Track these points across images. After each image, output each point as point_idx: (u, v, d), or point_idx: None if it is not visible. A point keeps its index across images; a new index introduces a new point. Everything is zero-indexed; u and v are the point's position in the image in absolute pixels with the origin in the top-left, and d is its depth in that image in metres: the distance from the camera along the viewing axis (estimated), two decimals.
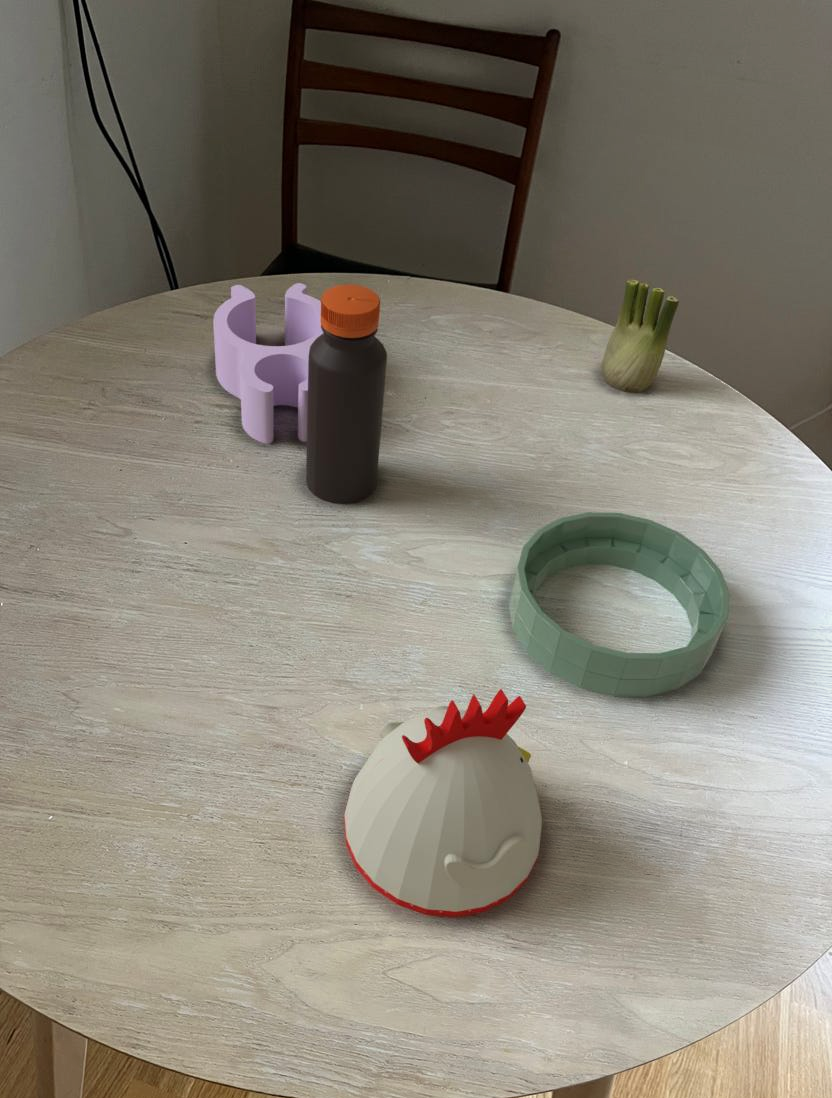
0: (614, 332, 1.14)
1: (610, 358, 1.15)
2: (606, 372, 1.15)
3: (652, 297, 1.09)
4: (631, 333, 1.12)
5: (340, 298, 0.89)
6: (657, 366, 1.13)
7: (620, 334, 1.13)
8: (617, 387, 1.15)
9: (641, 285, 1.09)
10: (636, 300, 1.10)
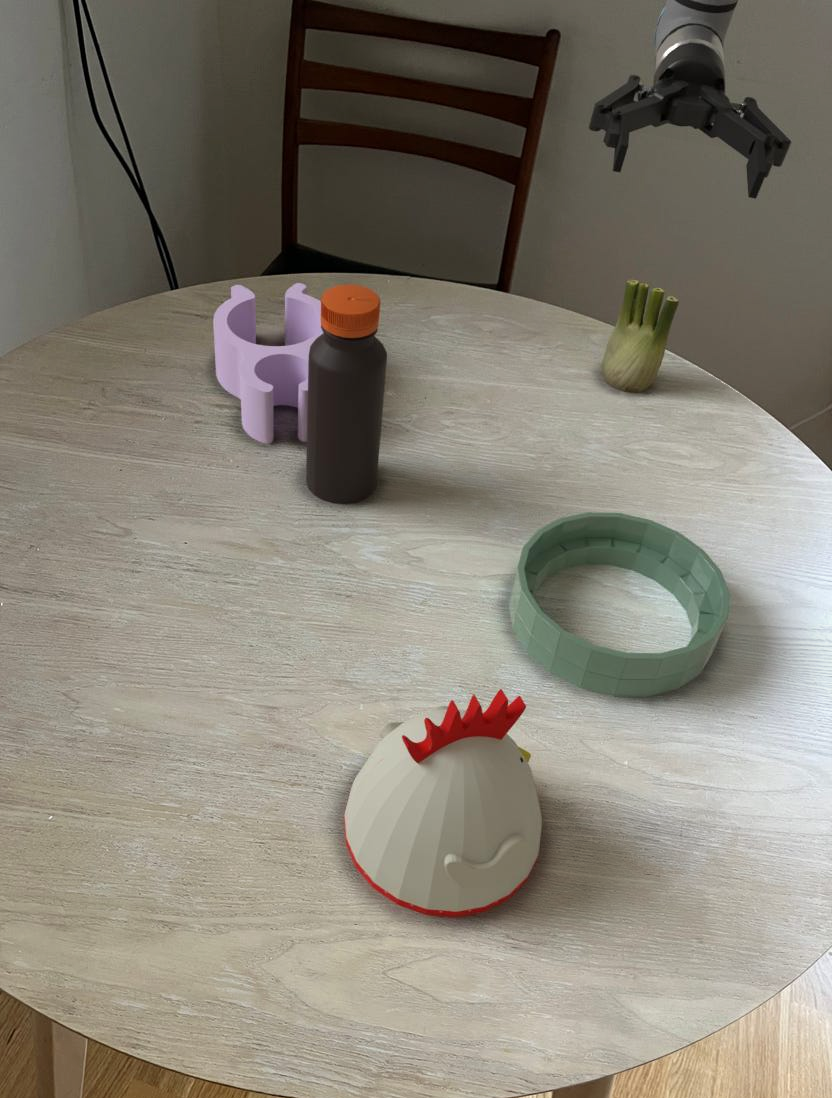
0: (614, 332, 1.14)
1: (610, 358, 1.15)
2: (606, 372, 1.15)
3: (652, 297, 1.09)
4: (630, 333, 1.12)
5: (340, 298, 0.89)
6: (657, 366, 1.13)
7: (620, 334, 1.13)
8: (617, 387, 1.15)
9: (641, 285, 1.09)
10: (636, 300, 1.10)
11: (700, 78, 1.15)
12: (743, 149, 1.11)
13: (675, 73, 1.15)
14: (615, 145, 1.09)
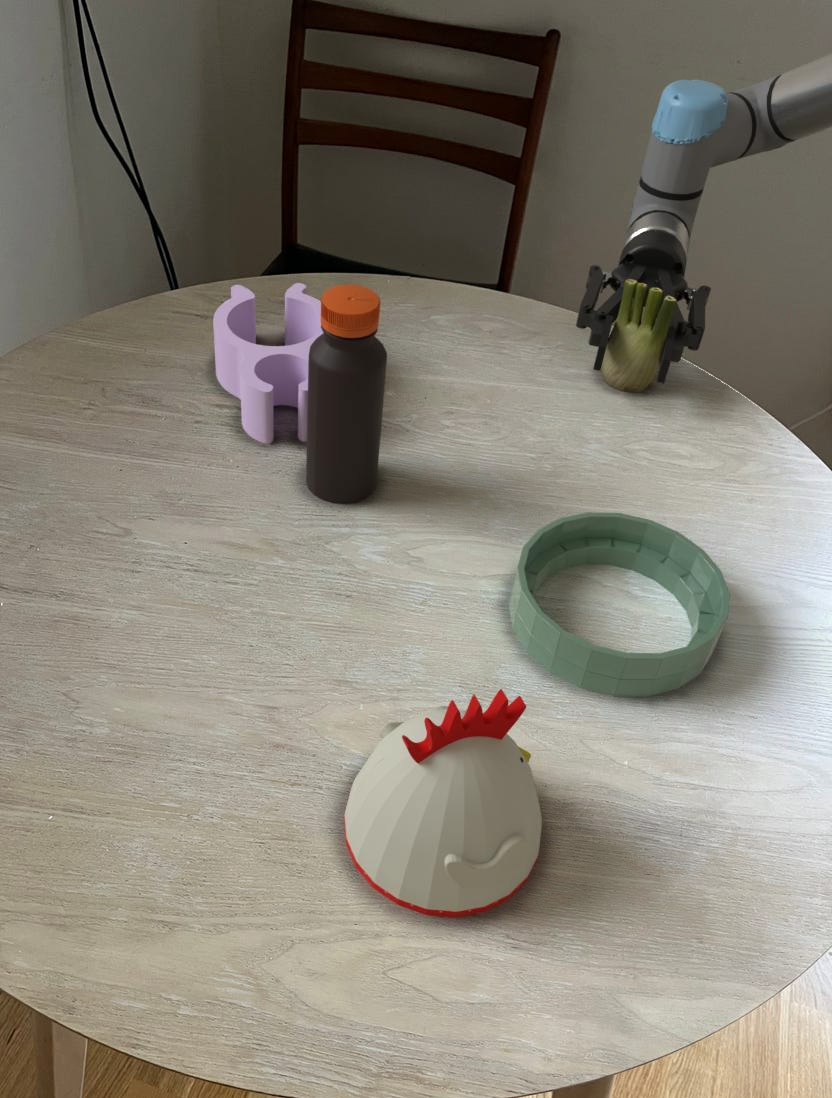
0: (613, 332, 1.14)
1: (609, 358, 1.15)
2: (605, 371, 1.15)
3: (650, 297, 1.09)
4: (629, 333, 1.12)
5: (340, 298, 0.89)
6: (655, 366, 1.13)
7: (619, 334, 1.13)
8: (615, 387, 1.15)
9: (639, 285, 1.09)
10: (634, 300, 1.10)
11: (659, 263, 1.21)
12: (667, 332, 1.15)
13: (635, 258, 1.21)
14: (597, 344, 1.13)
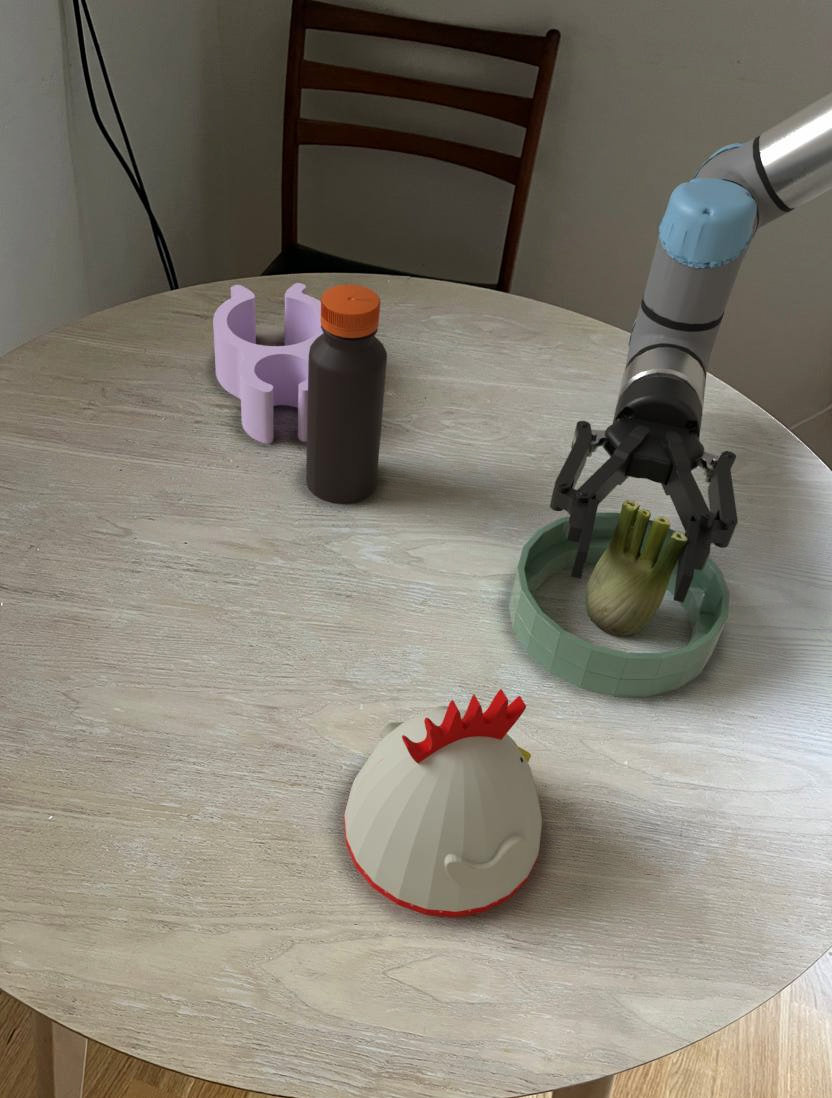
0: (603, 558, 0.88)
1: (595, 588, 0.89)
2: (589, 604, 0.90)
3: (654, 529, 0.83)
4: (623, 565, 0.87)
5: (340, 298, 0.89)
6: (654, 609, 0.87)
7: (610, 563, 0.88)
8: (601, 625, 0.90)
9: (641, 512, 0.83)
10: (633, 528, 0.85)
11: (667, 419, 0.93)
12: (684, 521, 0.87)
13: (636, 412, 0.93)
14: (577, 539, 0.85)
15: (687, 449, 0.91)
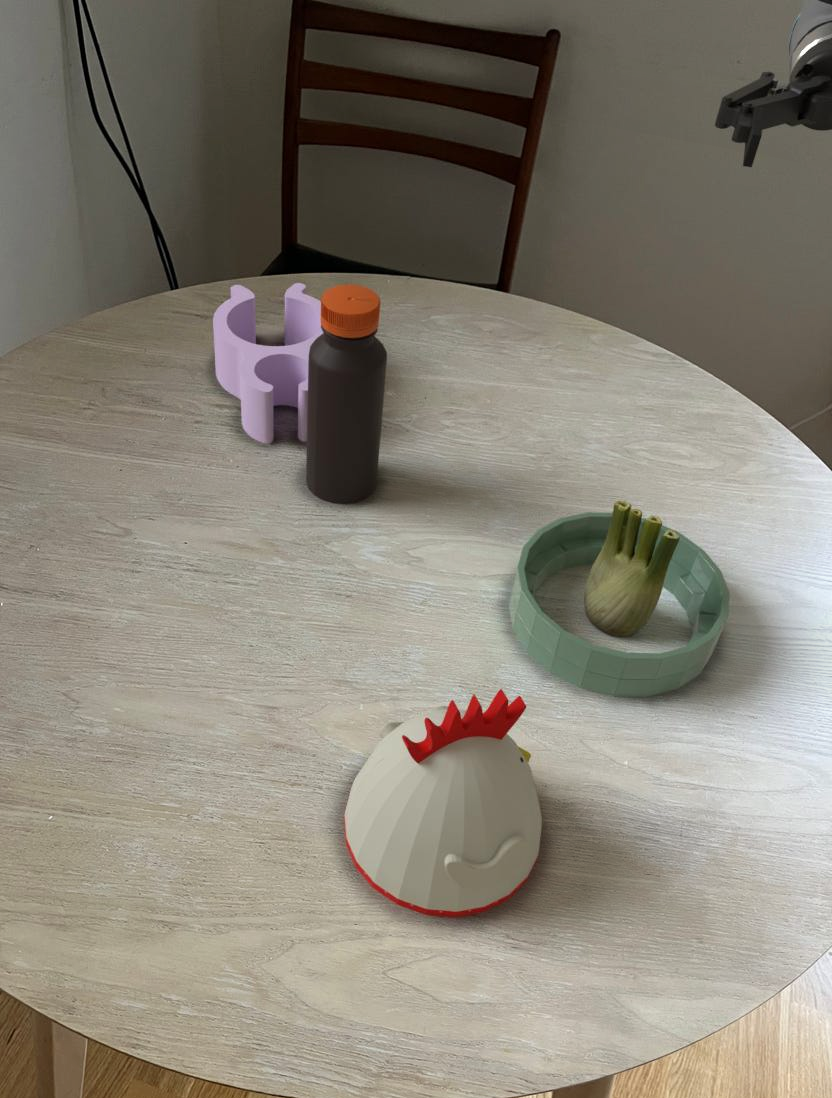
0: (599, 559, 0.89)
1: (592, 590, 0.90)
2: (587, 605, 0.90)
3: (646, 528, 0.84)
4: (618, 566, 0.87)
5: (340, 298, 0.89)
6: (651, 608, 0.87)
7: (605, 564, 0.88)
8: (600, 626, 0.90)
9: (632, 512, 0.83)
10: (626, 528, 0.85)
11: None
12: None
13: (815, 69, 1.03)
14: (746, 139, 0.96)
15: None
